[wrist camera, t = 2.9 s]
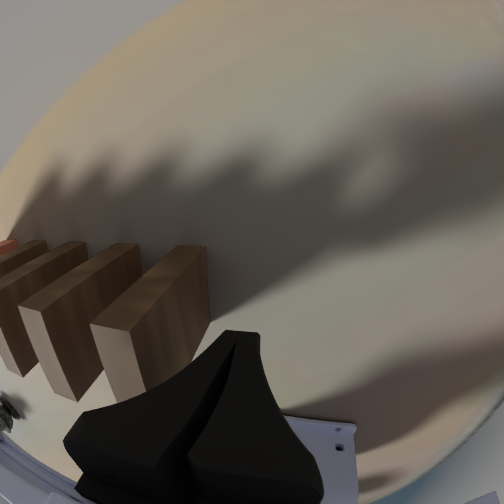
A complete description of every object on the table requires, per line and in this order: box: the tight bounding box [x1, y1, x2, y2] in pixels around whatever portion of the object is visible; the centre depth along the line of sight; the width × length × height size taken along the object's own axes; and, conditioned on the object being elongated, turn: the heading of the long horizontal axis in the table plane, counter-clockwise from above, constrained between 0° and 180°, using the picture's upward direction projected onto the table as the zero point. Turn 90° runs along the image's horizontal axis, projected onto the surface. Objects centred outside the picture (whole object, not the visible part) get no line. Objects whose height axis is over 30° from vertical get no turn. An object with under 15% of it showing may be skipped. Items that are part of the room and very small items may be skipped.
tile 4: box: [0, 240, 48, 278], centre depth 15 cm, size 2×5×8 cm, turn 0°
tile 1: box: [90, 246, 210, 403], centre depth 13 cm, size 2×5×8 cm, turn 0°
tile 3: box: [0, 242, 88, 377], centre depth 14 cm, size 2×5×8 cm, turn 0°
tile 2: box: [18, 243, 142, 402], centre depth 14 cm, size 2×5×8 cm, turn 0°
